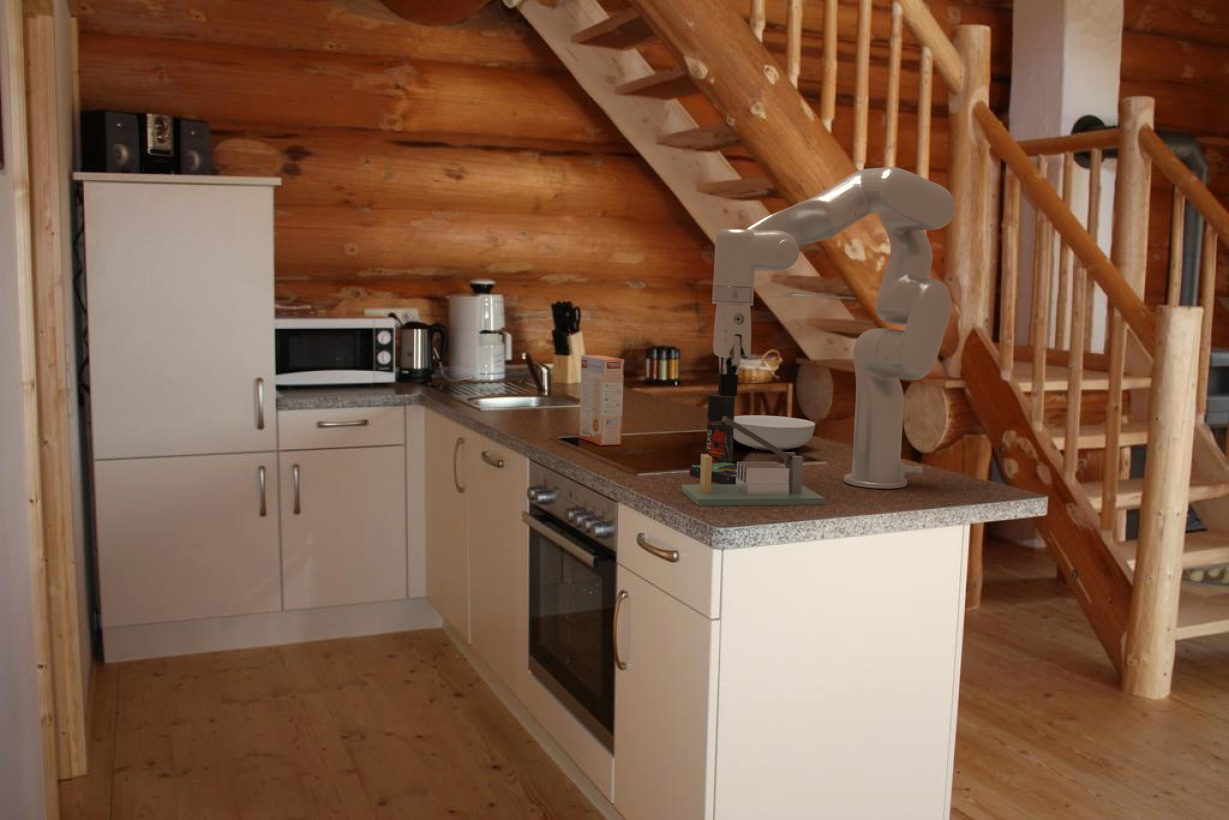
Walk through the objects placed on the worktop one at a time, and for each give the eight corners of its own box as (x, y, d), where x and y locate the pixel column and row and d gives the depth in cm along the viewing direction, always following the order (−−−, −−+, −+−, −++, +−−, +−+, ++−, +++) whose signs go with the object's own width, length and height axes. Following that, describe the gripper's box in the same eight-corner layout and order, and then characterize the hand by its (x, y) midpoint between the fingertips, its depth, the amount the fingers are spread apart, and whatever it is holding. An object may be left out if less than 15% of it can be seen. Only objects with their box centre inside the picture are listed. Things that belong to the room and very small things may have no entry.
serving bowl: (805, 458, 269) (806, 428, 268) (716, 451, 276) (718, 422, 275) (821, 446, 289) (822, 418, 288) (738, 439, 296) (739, 412, 295)
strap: (792, 466, 223) (797, 457, 223) (797, 468, 220) (802, 460, 220) (719, 421, 219) (724, 413, 219) (723, 423, 217) (728, 415, 217)
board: (800, 489, 230) (802, 448, 229) (824, 504, 216) (826, 460, 215) (681, 490, 226) (682, 448, 225) (698, 505, 212) (699, 461, 211)
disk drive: (773, 486, 237) (726, 473, 249) (773, 472, 236) (727, 460, 248) (733, 490, 231) (687, 477, 243) (733, 476, 231) (688, 464, 243)
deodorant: (737, 462, 260) (740, 395, 258) (721, 465, 256) (724, 397, 254) (716, 459, 264) (719, 393, 262) (700, 462, 260) (702, 394, 258)
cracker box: (622, 445, 280) (625, 358, 278) (599, 446, 278) (601, 358, 275) (600, 437, 293) (602, 353, 290) (578, 438, 291) (580, 354, 288)
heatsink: (775, 487, 226) (776, 461, 225) (788, 495, 218) (789, 468, 217) (735, 487, 224) (736, 461, 224) (747, 495, 217) (748, 468, 216)
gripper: (764, 298, 209) (758, 400, 211) (741, 296, 223) (736, 392, 226) (723, 296, 208) (718, 399, 210) (703, 295, 222) (698, 391, 224)
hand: (727, 395), depth 218 cm, fingers closed
